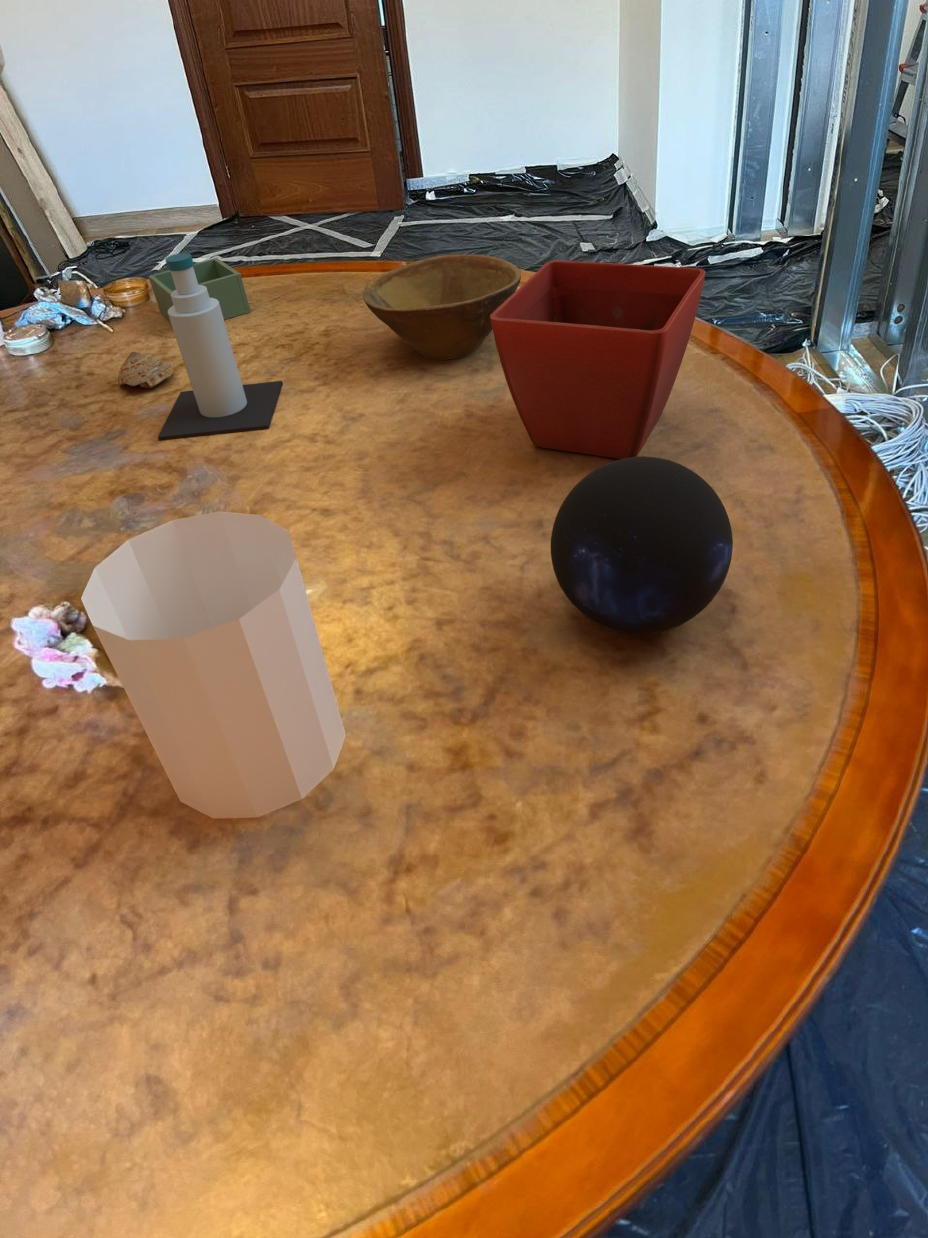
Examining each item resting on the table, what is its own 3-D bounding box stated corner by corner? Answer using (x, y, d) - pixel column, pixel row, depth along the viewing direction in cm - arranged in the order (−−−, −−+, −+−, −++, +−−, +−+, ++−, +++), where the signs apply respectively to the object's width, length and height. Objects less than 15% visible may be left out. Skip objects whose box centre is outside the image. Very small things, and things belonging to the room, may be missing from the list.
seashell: (131, 386, 124) (103, 353, 126) (137, 414, 128) (111, 382, 131) (182, 366, 127) (155, 334, 130) (186, 395, 132) (160, 363, 135)
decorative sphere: (548, 668, 73) (541, 522, 64) (558, 564, 84) (553, 426, 75) (731, 672, 71) (752, 521, 61) (716, 564, 82) (731, 421, 72)
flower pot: (697, 403, 107) (708, 265, 96) (656, 480, 94) (664, 331, 84) (553, 388, 114) (549, 258, 104) (497, 458, 102) (485, 318, 91)
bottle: (195, 419, 117) (145, 268, 104) (205, 398, 122) (158, 251, 109) (242, 414, 117) (198, 262, 104) (250, 393, 122) (209, 245, 109)
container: (187, 694, 75) (114, 524, 64) (349, 674, 75) (304, 500, 64) (153, 829, 64) (56, 653, 53) (342, 807, 64) (286, 625, 52)
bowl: (382, 324, 138) (372, 260, 132) (523, 312, 136) (520, 247, 130) (365, 383, 122) (352, 313, 115) (525, 371, 119) (521, 299, 113)
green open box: (181, 332, 145) (168, 293, 141) (160, 313, 153) (148, 275, 149) (250, 311, 149) (240, 273, 145) (226, 294, 158) (216, 257, 154)
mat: (158, 440, 114) (157, 437, 114) (181, 394, 125) (180, 391, 125) (268, 428, 114) (268, 425, 113) (282, 383, 124) (281, 380, 124)
